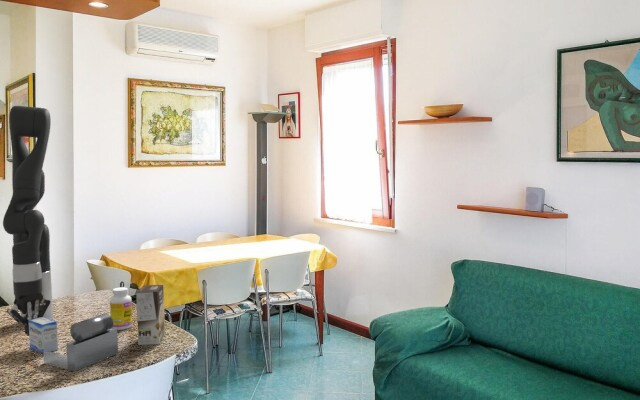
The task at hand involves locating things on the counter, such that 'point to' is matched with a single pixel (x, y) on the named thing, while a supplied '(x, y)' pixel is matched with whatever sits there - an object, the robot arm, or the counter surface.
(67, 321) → the counter surface
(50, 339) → the medicine box
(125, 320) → the supplement bottle
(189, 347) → the counter surface
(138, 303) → the coffee box
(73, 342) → the motor dock
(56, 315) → the counter surface
